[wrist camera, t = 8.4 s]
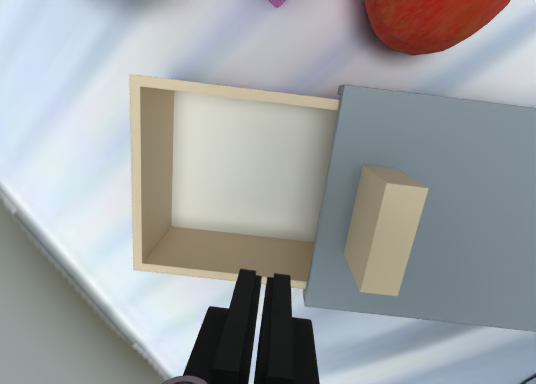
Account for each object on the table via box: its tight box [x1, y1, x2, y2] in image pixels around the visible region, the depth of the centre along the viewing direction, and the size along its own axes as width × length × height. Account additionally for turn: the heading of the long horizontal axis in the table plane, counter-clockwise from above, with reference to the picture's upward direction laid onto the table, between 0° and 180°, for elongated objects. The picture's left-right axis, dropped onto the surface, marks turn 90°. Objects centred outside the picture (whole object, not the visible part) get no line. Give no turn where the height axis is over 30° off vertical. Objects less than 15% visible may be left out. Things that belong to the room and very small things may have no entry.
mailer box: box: [130, 74, 339, 289], centre depth 23 cm, size 13×18×7 cm
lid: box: [303, 85, 536, 332], centre depth 18 cm, size 15×19×6 cm
